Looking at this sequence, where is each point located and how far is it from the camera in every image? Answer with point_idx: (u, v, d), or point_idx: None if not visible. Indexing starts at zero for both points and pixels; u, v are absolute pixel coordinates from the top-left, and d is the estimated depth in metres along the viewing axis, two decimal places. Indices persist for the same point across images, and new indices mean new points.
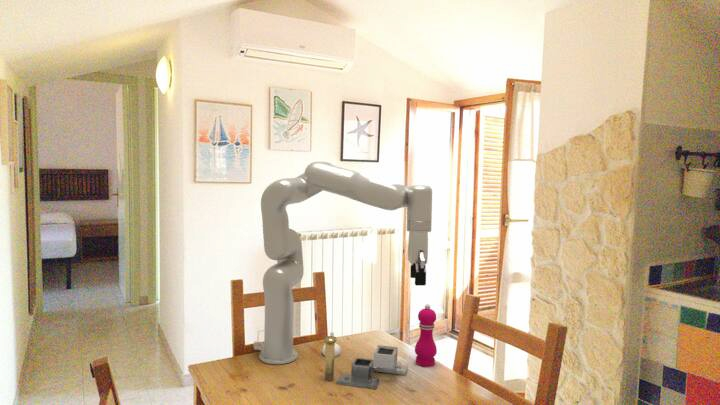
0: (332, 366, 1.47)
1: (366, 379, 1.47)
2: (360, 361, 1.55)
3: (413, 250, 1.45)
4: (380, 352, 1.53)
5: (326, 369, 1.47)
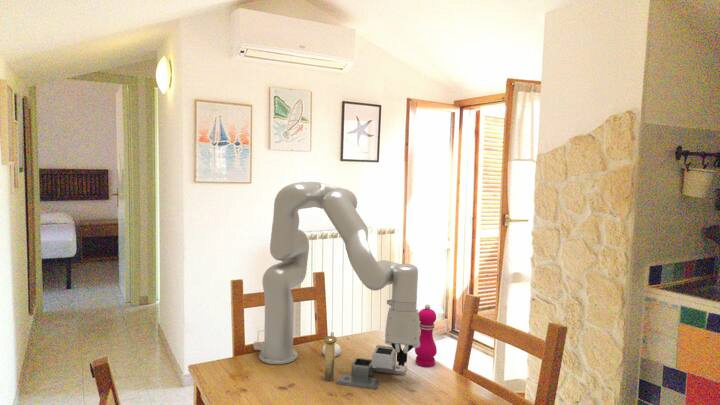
0: (332, 366, 1.47)
1: (366, 379, 1.47)
2: (360, 361, 1.55)
3: (418, 331, 1.45)
4: (379, 352, 1.53)
5: (326, 369, 1.47)
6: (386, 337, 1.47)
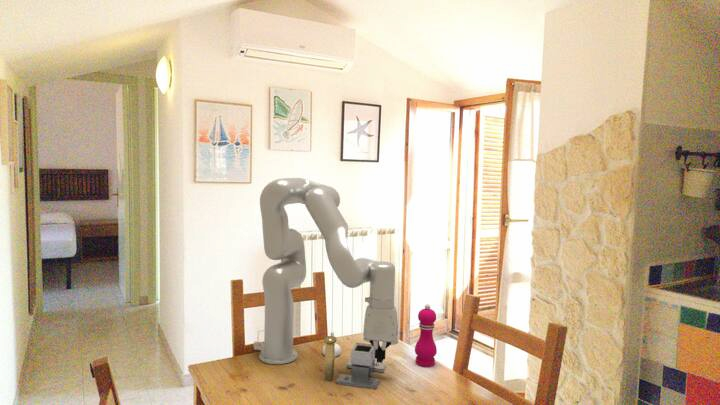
0: (332, 366, 1.47)
1: (366, 379, 1.47)
2: None
3: (395, 327, 1.47)
4: (358, 349, 1.55)
5: (326, 369, 1.47)
6: (364, 334, 1.49)
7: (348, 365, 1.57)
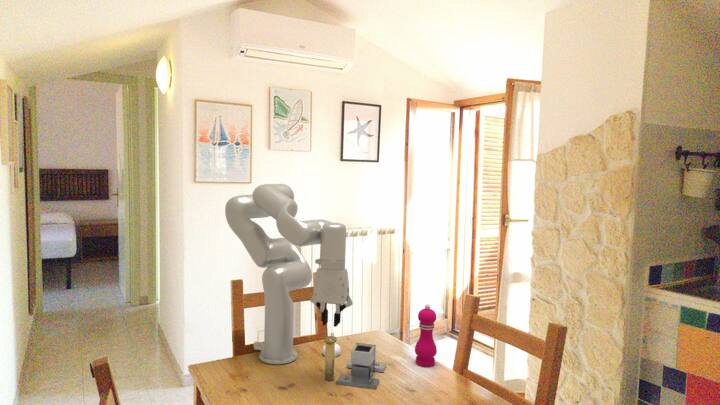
0: (332, 366, 1.47)
1: (366, 379, 1.47)
2: None
3: (345, 289, 1.43)
4: (358, 349, 1.55)
5: (326, 369, 1.47)
6: (314, 296, 1.45)
7: (348, 365, 1.57)
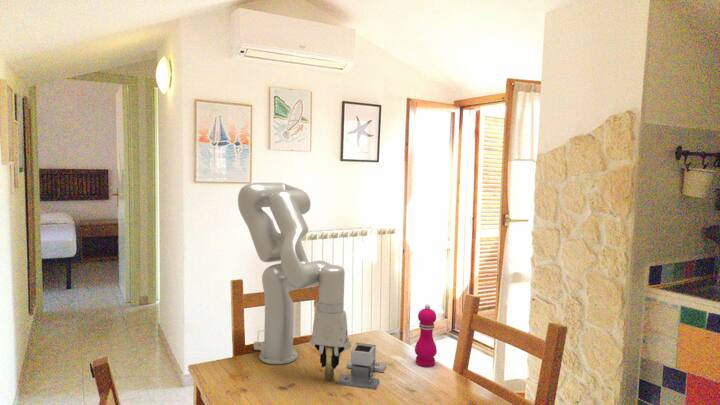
0: None
1: (366, 379, 1.47)
2: None
3: (343, 332, 1.44)
4: (358, 349, 1.55)
5: (326, 369, 1.47)
6: (313, 339, 1.46)
7: (348, 365, 1.57)
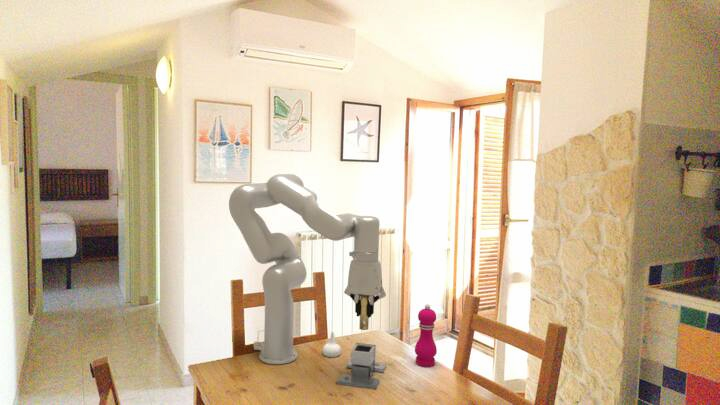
0: (367, 315, 1.50)
1: (366, 379, 1.47)
2: None
3: (379, 281, 1.47)
4: (358, 349, 1.55)
5: (361, 318, 1.50)
6: (348, 288, 1.49)
7: (348, 365, 1.57)
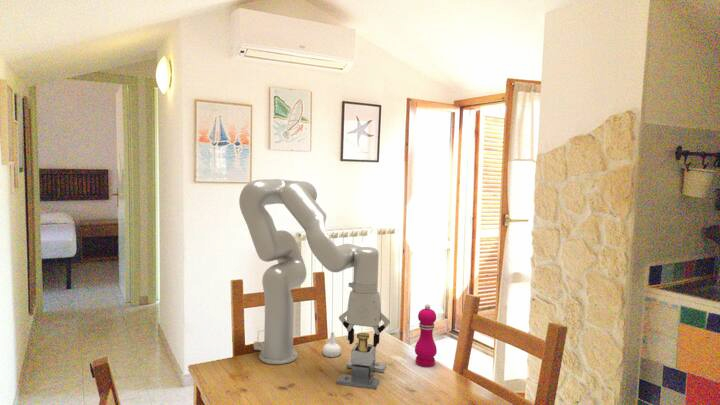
0: None
1: (366, 379, 1.47)
2: None
3: (378, 312, 1.48)
4: None
5: None
6: (347, 319, 1.50)
7: (348, 365, 1.57)
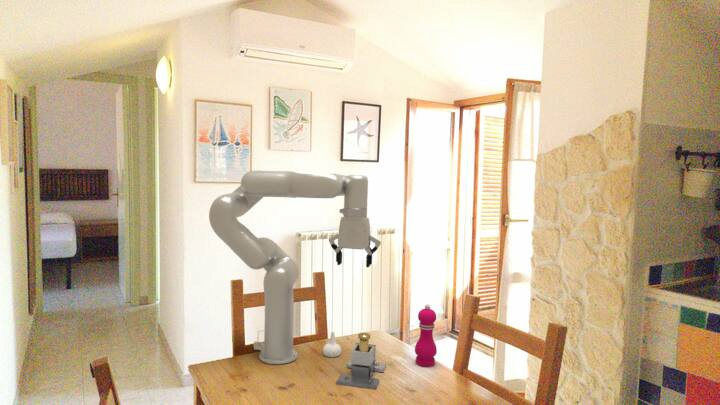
0: None
1: (366, 379, 1.47)
2: None
3: (367, 235, 1.56)
4: (358, 349, 1.55)
5: None
6: (338, 242, 1.58)
7: (348, 365, 1.57)
